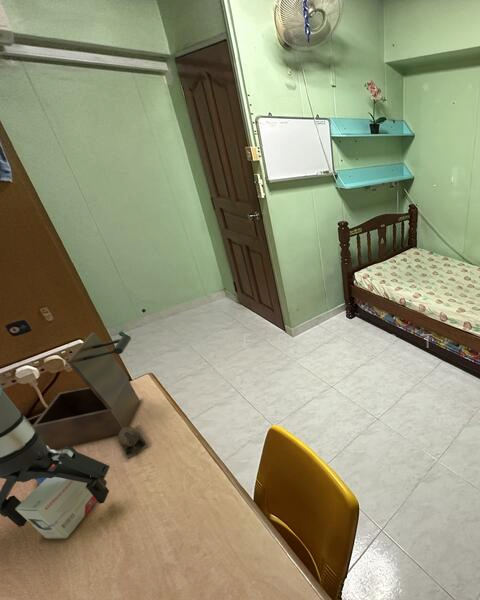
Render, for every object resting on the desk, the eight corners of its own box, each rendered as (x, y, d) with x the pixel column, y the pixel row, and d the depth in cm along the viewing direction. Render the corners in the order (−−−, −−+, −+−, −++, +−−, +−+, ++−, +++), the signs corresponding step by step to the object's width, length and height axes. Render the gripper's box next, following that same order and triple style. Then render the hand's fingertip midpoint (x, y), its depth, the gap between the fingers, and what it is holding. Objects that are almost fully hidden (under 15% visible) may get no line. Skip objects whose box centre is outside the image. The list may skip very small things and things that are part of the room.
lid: (66, 361, 75) (111, 350, 77) (91, 332, 85) (130, 323, 87) (108, 409, 84) (147, 398, 86) (126, 378, 94) (160, 369, 96)
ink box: (81, 497, 74) (55, 467, 68) (102, 497, 74) (78, 467, 68) (44, 540, 66) (11, 510, 60) (68, 540, 66) (37, 510, 60)
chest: (51, 452, 84) (30, 427, 79) (75, 416, 94) (58, 392, 89) (125, 434, 89) (110, 410, 84) (140, 402, 99) (128, 379, 94)
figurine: (154, 457, 83) (142, 435, 78) (134, 469, 80) (119, 448, 75) (138, 428, 90) (125, 407, 86) (118, 439, 87) (104, 418, 83)
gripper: (-110, 487, 51) (-25, 550, 61) (81, 441, 58) (128, 504, 68) (-68, 448, 57) (2, 511, 67) (100, 411, 64) (140, 473, 75)
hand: (66, 508), depth 68 cm, fingers open, 13 cm apart
